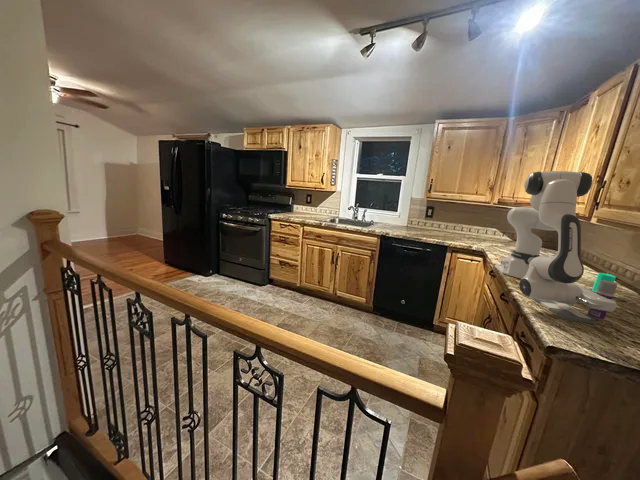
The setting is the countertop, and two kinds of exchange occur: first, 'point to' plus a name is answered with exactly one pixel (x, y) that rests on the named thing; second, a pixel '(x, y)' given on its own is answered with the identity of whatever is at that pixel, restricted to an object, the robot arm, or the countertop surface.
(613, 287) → the container
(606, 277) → the candle
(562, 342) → the countertop surface
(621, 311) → the countertop surface
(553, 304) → the letter board
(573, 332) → the countertop surface
